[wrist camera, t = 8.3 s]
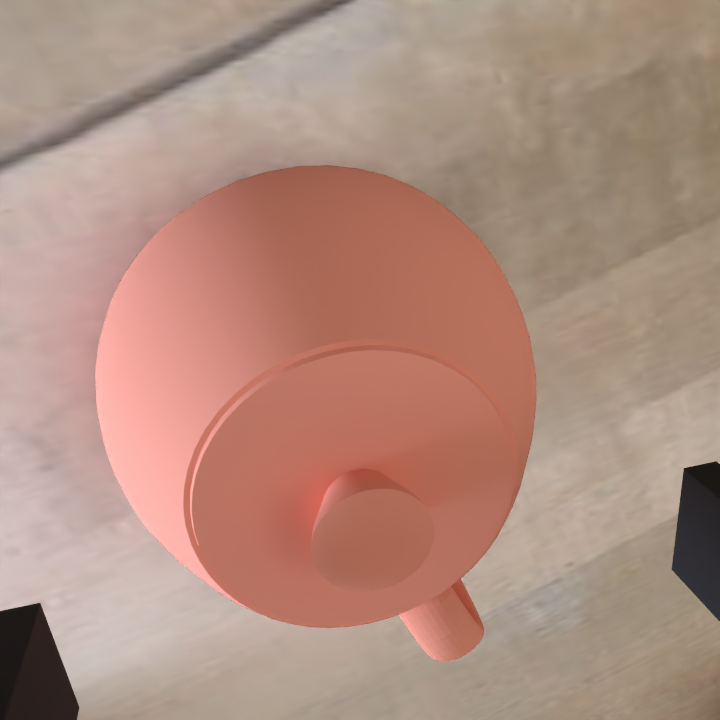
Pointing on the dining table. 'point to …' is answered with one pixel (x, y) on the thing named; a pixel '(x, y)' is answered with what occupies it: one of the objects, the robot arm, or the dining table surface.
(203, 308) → the sugar bowl
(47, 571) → the dining table surface
